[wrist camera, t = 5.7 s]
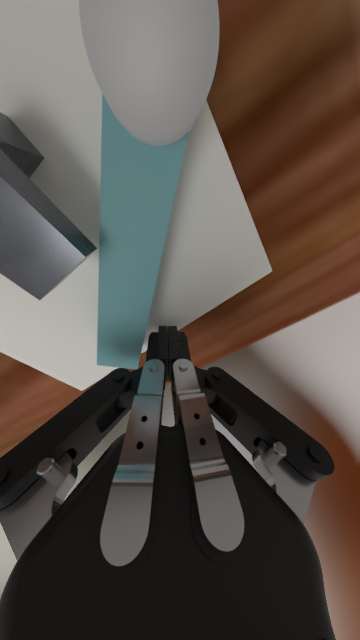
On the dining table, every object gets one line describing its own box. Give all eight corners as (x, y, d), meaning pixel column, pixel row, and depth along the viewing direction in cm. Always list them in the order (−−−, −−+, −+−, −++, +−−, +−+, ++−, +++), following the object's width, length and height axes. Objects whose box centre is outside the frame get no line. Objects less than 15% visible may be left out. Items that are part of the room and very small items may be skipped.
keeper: (8, 116, 7) (-166, 18, 3) (113, 236, 10) (85, 257, 6) (-25, 169, 8) (-195, 138, 4) (82, 266, 11) (39, 300, 7)
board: (106, -112, 6) (91, -196, 5) (262, 265, 14) (272, 271, 13) (-112, 274, 12) (-144, 282, 10) (86, 379, 20) (81, 390, 19)
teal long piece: (115, 4, 6) (74, -177, 3) (209, 58, 7) (243, -46, 4) (102, 341, 15) (87, 376, 12) (143, 347, 15) (140, 380, 13)
